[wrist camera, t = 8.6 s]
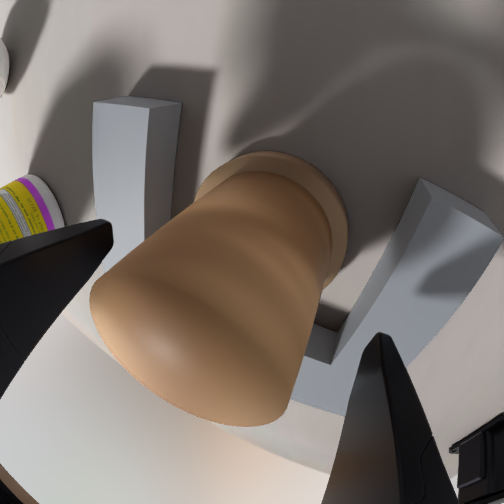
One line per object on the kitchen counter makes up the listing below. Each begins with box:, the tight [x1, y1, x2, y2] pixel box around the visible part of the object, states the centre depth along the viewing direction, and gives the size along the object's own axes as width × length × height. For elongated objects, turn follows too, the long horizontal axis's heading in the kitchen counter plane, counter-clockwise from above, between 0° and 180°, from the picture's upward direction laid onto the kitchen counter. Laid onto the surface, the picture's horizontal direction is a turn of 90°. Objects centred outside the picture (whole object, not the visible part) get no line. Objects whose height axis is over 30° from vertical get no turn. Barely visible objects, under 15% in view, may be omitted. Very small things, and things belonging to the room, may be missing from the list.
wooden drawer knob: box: [89, 151, 348, 427], centre depth 9 cm, size 6×6×7 cm
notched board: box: [92, 96, 504, 416], centre depth 12 cm, size 15×12×2 cm
